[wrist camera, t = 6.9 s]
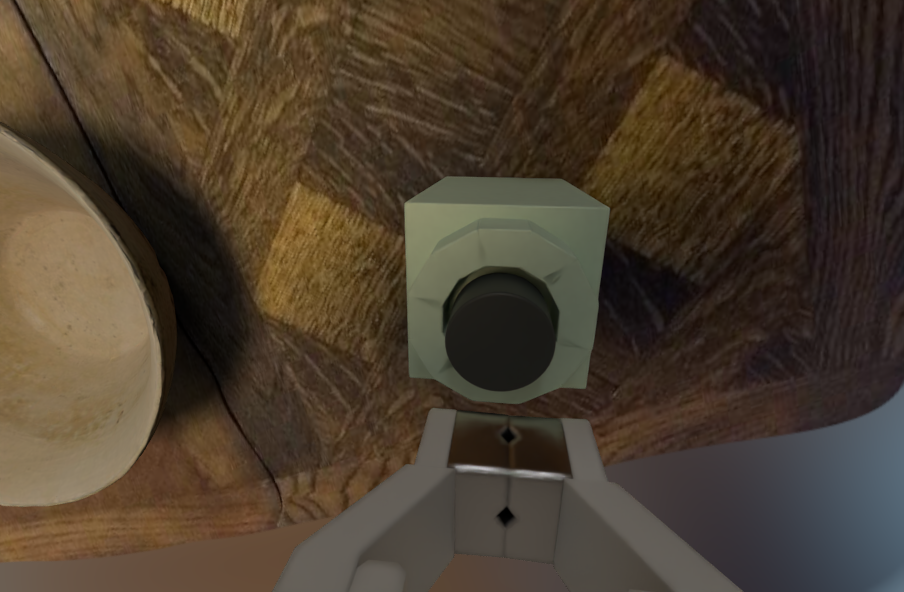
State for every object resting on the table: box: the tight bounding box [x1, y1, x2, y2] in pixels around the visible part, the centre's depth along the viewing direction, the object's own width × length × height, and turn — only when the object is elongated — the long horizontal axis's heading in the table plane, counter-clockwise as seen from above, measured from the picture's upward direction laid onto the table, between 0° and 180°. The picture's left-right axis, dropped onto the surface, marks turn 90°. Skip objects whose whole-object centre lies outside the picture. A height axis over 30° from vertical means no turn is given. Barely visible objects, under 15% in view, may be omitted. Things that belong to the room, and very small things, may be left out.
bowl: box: [0, 122, 177, 507], centre depth 26 cm, size 24×24×10 cm
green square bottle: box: [404, 177, 610, 404], centre depth 20 cm, size 7×7×14 cm
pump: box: [445, 272, 556, 392], centre depth 13 cm, size 3×3×2 cm
